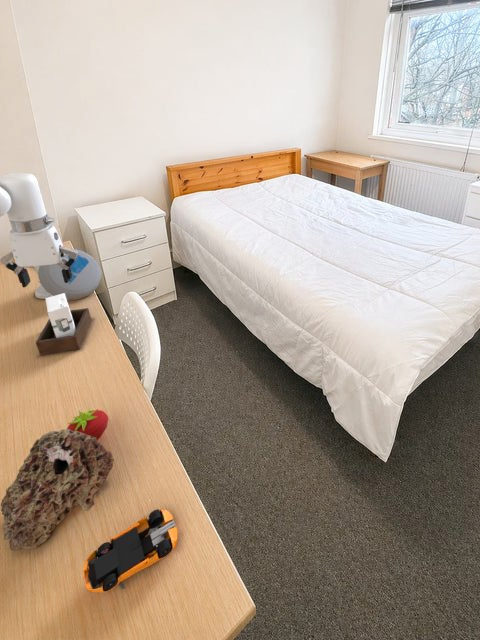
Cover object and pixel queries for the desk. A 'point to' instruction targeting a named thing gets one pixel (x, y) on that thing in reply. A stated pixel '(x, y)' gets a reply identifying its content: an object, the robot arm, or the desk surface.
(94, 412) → the strawberry
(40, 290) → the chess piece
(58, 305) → the ink box
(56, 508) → the coral
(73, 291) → the grey round disc
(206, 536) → the desk surface
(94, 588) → the toy car
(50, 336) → the holder
